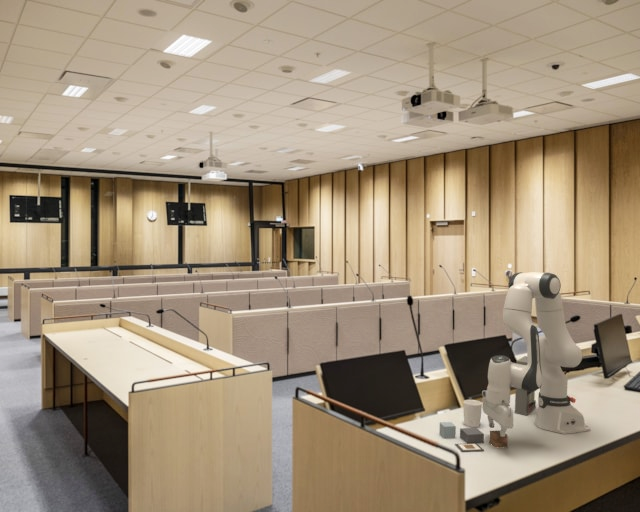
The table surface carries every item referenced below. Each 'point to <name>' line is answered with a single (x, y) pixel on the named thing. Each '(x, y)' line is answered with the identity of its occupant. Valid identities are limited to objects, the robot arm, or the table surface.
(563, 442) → the table surface
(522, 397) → the grey box
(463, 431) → the charcoal base block
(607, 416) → the table surface
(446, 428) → the slate-blue block
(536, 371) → the robot arm
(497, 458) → the table surface
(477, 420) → the white cup
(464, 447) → the card
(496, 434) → the walnut block
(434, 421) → the table surface
